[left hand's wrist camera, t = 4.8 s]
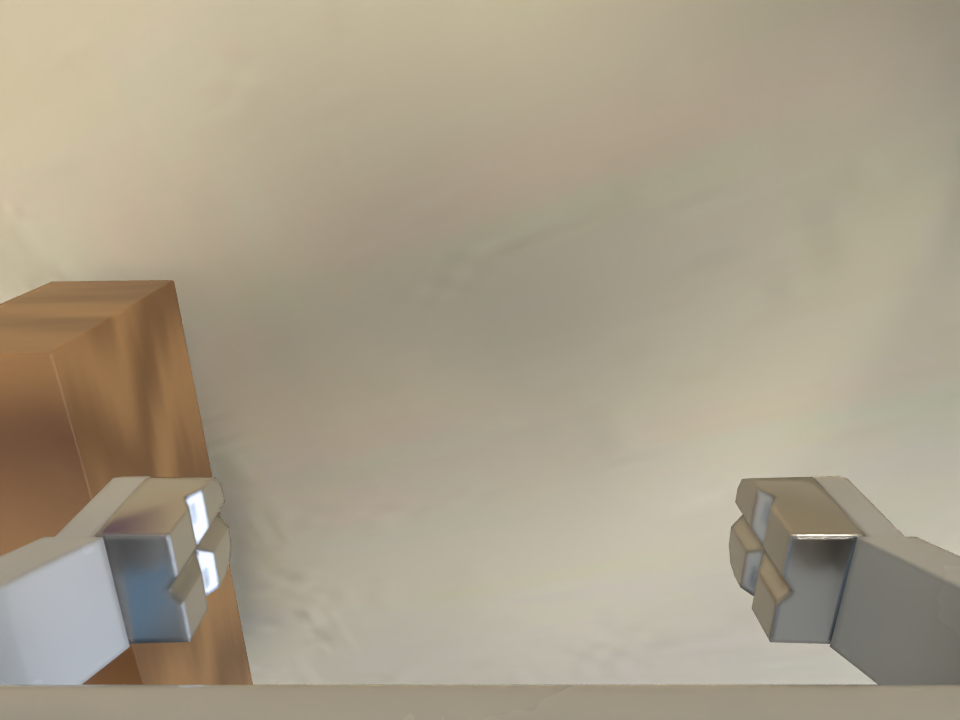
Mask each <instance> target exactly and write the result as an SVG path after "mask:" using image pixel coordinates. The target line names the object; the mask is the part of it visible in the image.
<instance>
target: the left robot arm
mask: <svg viewBox="0 0 960 720" xmlns="http://www.w3.org/2000/svg"><path fill="white" fill-rule="evenodd" d="M224 503H225V501H224V496H223V491H222V487H221V483H220V482H219V481H218V480H217V479H216V478H204V477H150V476H122V477H117V478H113V479H112V480H111V481H110V482H109V483H108V484H107V485H106V486H105V487H104V488H103V489H102V490H101V491H100V492H99V493H98V494H97V495H96V496H95V497H94V498H93V499H92V500H91V501H90V502H89V503H88V504H87V505H86V506H85V507H84V508H83V509H82V510H81V511H80V512H79V513H78V514H77V515H76V516H75V517H74V518H73V519H72V520H71V521H70V522H69V523H68V524H67V525H66V526H65V527H64V528H63V529H62V530H61V531H60V532H59V533H58V534H57V535H56V536H55V537H43V538H40V539H38V540H36V541H34V542H31V543H29V544H27V545H25V546H22V547H20V548H18V549H16V550H13V551H11V552H9V553H7V554H5V555H2V556H0V720H960V556H958V555H955V554H953V553H951V552H949V551H946V550H944V549H942V548H940V547H937V546H935V545H933V544H931V543H929V542H926V541H924V540H922V539H920V538H917V537H905V536H904V535H903V534H902V533H901V532H900V531H899V530H898V529H897V528H896V527H895V526H894V525H893V524H892V523H891V522H890V521H889V520H888V519H887V518H886V517H885V516H884V515H883V514H882V513H881V512H880V511H879V510H878V509H877V508H876V507H875V506H874V505H873V504H872V503H871V502H870V501H869V500H868V499H867V498H866V497H865V496H864V495H863V494H862V493H861V492H860V491H859V490H858V489H857V488H856V487H855V486H854V485H853V484H852V483H851V482H850V481H849V480H848V479H847V478H844V477H841V476H821V477H787V478H749V479H742V480H741V482H740V485H739V487H738V490H737V495H736V501H735V503H736V504H737V506H738V507H739V509H740V511H741V512H742V514H743V515H742V516H741V517H740V518H739V519H738V520H737V521H736V522H735V523H734V524H733V525H732V526H731V533H730V540H729V552H730V563H731V566H732V569H733V573H734V576H735V578H736V580H737V582H738V584H739V586H740V587H741V588H742V589H744V590H745V591H747V592H748V593H750V594H751V595H753V596H754V599H753V605H752V610H753V612H754V613H755V615H756V617H757V619H758V621H759V623H760V624H761V626H762V628H763V630H764V632H765V634H766V635H767V637H768V639H769V641H770V642H784V643H820V644H830V647H831V648H833V649H834V650H835V651H836V652H838V653H839V654H840V655H841V656H843V657H844V658H845V659H847V660H848V661H849V662H850V663H852V664H853V665H854V666H855V667H857V668H858V669H859V670H860V671H862V672H863V673H864V674H866V675H867V676H868V677H869V678H871V679H872V680H873V681H874V682H876V683H877V684H878V685H82V684H83V683H84V682H86V681H87V680H88V679H90V678H91V677H92V676H93V675H95V674H96V673H97V672H98V671H100V670H101V669H102V668H104V667H105V666H106V665H107V664H109V663H110V662H111V661H112V660H114V659H115V658H116V657H118V656H119V655H120V654H121V653H123V652H124V651H125V650H126V649H128V648H129V647H130V644H139V643H175V642H190V641H191V639H192V637H193V635H194V634H195V632H196V630H197V628H198V626H199V624H200V623H201V621H202V619H203V617H204V615H205V613H206V612H207V610H208V605H207V599H206V596H207V595H209V594H210V593H212V592H213V591H215V590H216V589H218V588H219V587H220V585H221V584H222V582H223V580H224V578H225V576H226V573H227V569H228V565H229V560H230V556H231V538H230V532H229V526H228V525H227V524H226V523H225V522H224V521H223V520H222V519H221V518H220V517H219V516H218V515H217V514H218V512H219V511H220V509H221V507H222V506H223V504H224Z"/></svg>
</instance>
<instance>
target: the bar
mask: <svg viewBox="0 0 960 720" xmlns="http://www.w3.org/2000/svg"><path fill="white" fill-rule="evenodd" d="M122 476H150V477H204V478H212V473H211V468H210V463H209V458H208V453H207V448H206V443H205V438H204V432H203V427H202V422H201V417H200V412H199V407H198V402H197V397H196V392H195V386H194V381H193V376H192V371H191V366H190V361H189V356H188V351H187V346H186V340H185V335H184V330H183V325H182V320H181V315H180V310H179V305H178V300H177V294H176V289H175V284H174V281H173V280H148V281H65V282H50V283H48V284H45V285H43V286H41V287H38V288H36V289H34V290H32V291H29V292H27V293H25V294H22V295H20V296H18V297H15V298H13V299H11V300H9V301H6V302H4V303H2V304H0V556H2V555H5V554H7V553H9V552H11V551H13V550H16V549H18V548H20V547H22V546H25V545H27V544H29V543H31V542H34V541H36V540H38V539H40V538H43V537H55V536H56V535H57V534H58V533H59V532H60V531H61V530H62V529H63V528H64V527H65V526H66V525H67V524H68V523H69V522H70V521H71V520H72V519H73V518H74V517H75V516H76V515H77V514H78V513H79V512H80V511H81V510H82V509H83V508H84V507H85V506H86V505H87V504H88V503H89V502H90V501H91V500H92V499H93V498H94V497H95V496H96V495H97V494H98V493H99V492H100V491H101V490H102V489H103V488H104V487H105V486H106V485H107V484H108V483H109V482H110V481H111V480H112V479H113V478H117V477H122ZM217 515H218V516H219V517H220V514H219V512H218V514H217ZM206 599H207V605H208V610H207V612H206V613H205V615H204V617H203V619H202V621H201V623H200V624H199V626H198V628H197V630H196V632H195V634H194V635H193V637H192V639H191V641H190V642H175V643H139V644H130V647H129V648H128V649H126V650H125V651H124V652H123V653H121V654H120V655H119V656H118V657H116V658H115V659H114V660H112V661H111V662H110V663H109V664H107V665H106V666H105V667H104V668H102V669H101V670H100V671H98V672H97V673H96V674H95V675H93V676H92V677H91V678H90V679H88V680H87V681H86V682H84V683H83V684H82V685H253V683H252V678H251V673H250V668H249V662H248V657H247V652H246V647H245V642H244V637H243V632H242V627H241V622H240V616H239V611H238V606H237V601H236V596H235V591H234V586H233V581H232V576H231V570H230V565H228V569H227V573H226V576H225V578H224V580H223V582H222V584H221V585H220V587H219V588H218V589H216V590H215V591H213V592H212V593H210V594H209V595H207V596H206Z"/></svg>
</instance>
